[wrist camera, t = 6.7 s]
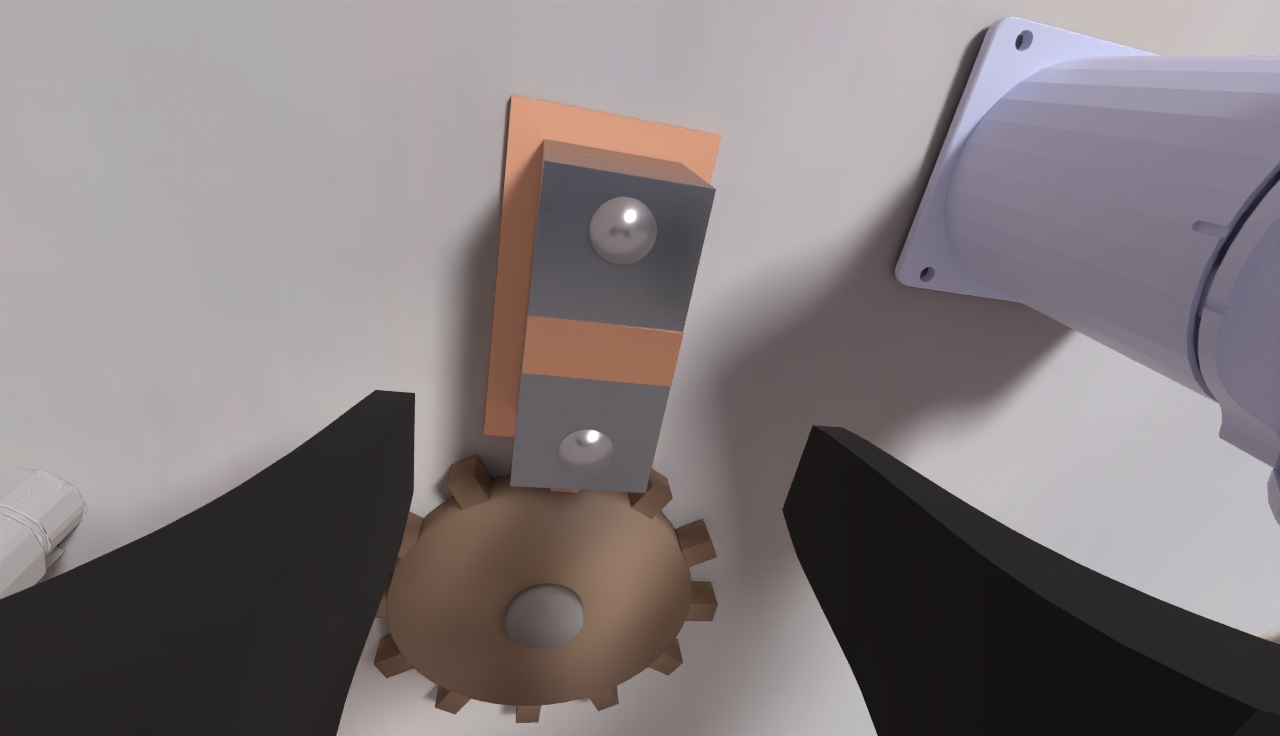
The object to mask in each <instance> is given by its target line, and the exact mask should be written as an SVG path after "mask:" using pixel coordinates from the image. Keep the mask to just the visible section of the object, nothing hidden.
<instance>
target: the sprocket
mask: <svg viewBox="0 0 1280 736" xmlns="http://www.w3.org/2000/svg"><path fill="white" fill-rule="evenodd" d="M510 480H511V475H510V476H505V477H500V478H497V479H494V480H492V478H491V477H490V475H489V473H488V472H487V470H486V468H485V467H484V465H483V464H482V462H481V460H480V459H479V457H478V455H476V456H473V457H471V458H468V459H465V460H463V461H460V462H458V463H455V464H452V465H451V470H450V474H449V478H448V483H447V487H448V488H449V490H450V491H451V493H452V494H453V496H454V497H452V498H450V499H448V500H447V501H445V502H443V503H442V504H441V505H440V506H438V507H437V508H436V509H434V510H433V511H432V512H431V513H429V514H428V515H427V516H426V517H425V518H424V519H423V518H422V517H419V516H417V515H415V514H413V513H411V512H409V514H408V519H407V523H406V527H405V532H404V536H403V540H402V544H401V547H400V550H399V553H398V556H397V557H398V560H397V563H396V567H395V570H394V574H393V575H390V578H389V581H388V583H387V586H386V589H385V591H384V594H383V597H382V600H381V602H380V605H379V608H378V610H377V613H376V616H375V618H386V617H387V621H388V626H389V629H390V632H391V635H389V636H386V637H383V638H381V639H380V643H379V646H378V650H377V653H376V657H375V660H374V665H375V666H376V667H377V668H378V669H379V671H380V672H381V673H382V674H383V675H384V676H385V677H386V678H389V677H391V676H394V675H397V674H399V673H402V672H405V671H408V670H410V669H413V668H415V669H416V670H417V671H418V672H419V673H421V674H422V675H424V676H425V677H426V678H428V679H429V680H430V681H432V682H434V683H436V684H437V685H439V687H438V693H437V698H436V704H435V708H438V709H441V710H444V711H447V712H450V713H453V714H456V713H457V712H458V711H459V710H460V709H461V708H462V707H463V706H464V705H465V704H466V703H467V702H468V701H469V700H470V699H471V698H472V699H475V700H479V701H484V702H489V703H494V704H503V705H517V707H516V723H531V722H538V720H539V715H540V709H541V705H549V704H556V703H563V702H568V701H573V700H577V699H581V698H585V697H588V696H589V698H590V699H591V701H592V702H593V704H594V705H595V707H596V708H597V710H598V711H600V710H603V709H606V708H608V707H611V706H614V705H617V704H619V702H618V694H617V685H619V684H621V683H623V682H625V681H627V680H628V679H630V678H632V677H633V676H635V675H636V674H638V673H640V672H641V671H643V670H644V669H645V668H647V667H650V668H653V669H655V670H657V671H660V672H662V673H664V674H666V675H669V674H670V673H672V672H673V671H674V670H675V669H676V668H677V667H678V666H680V665H681V664H682V663H683V660H682V656H681V652H680V647H679V643H678V639H676V636H677V635H678V633H679V631H680V630H681V628H682V626H683V624H684V621H712V620H713V617H714V614H715V611H716V608H717V605H718V604H717V600H716V597H715V594H714V591H713V588H712V585H711V582H691V578H690V571H689V568H688V566H689V567H691V566H694V565H696V564H699V563H702V562H705V561H707V560H710V559H713V558H715V557H717V556H716V553H715V550H714V547H713V544H712V541H711V538H710V536H709V533H708V531H707V528H706V526H705V523H704V521H703V519H702V520H700V521H697V522H694V523H692V524H689V525H686V526H683V527H681V528H678V529H676V531H675V529H674V527H673V525H672V524H671V523H670V521H669V520H668V519H667V518H666V516H665V515H664V514H663V513H662V512H661V511H660V510H662V509H663V508H664V507H665V506H666V505H667V504H668V503H669V502H670V501H671V500H672V499H673V497H672V494H671V491H670V487H669V484H668V480H667V478H666V477H664V476H662V475H661V474H659V473H658V472H656V471H654V470H653V469H651V472H650V477H649V481H648V485H647V490H646V493H635V492H616V491H597V490H578V489H559V488H540V487H521V486H510ZM676 532H677V533H676Z"/></svg>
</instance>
